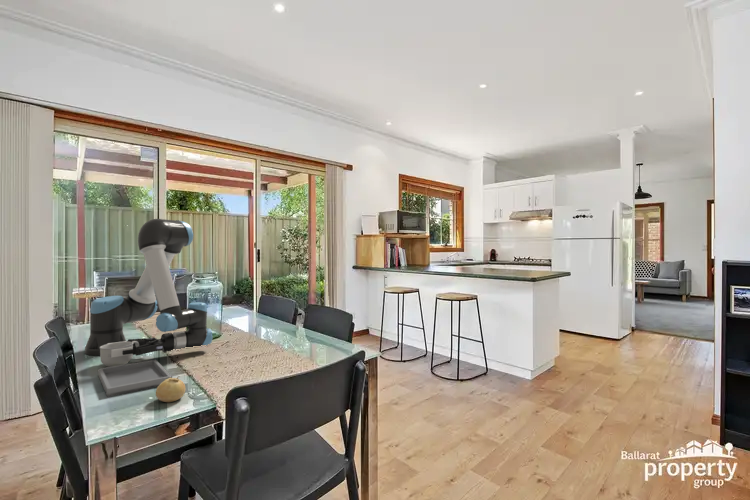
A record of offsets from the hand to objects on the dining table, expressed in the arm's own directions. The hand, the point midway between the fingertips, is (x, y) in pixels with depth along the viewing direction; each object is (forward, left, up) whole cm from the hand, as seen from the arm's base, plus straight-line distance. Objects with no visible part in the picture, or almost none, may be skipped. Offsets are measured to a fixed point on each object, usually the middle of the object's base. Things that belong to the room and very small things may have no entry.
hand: (109, 350), depth 143 cm
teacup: (0, +4, -6) cm, 7 cm away
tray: (+22, +5, -6) cm, 23 cm away
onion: (+48, +10, -7) cm, 49 cm away
